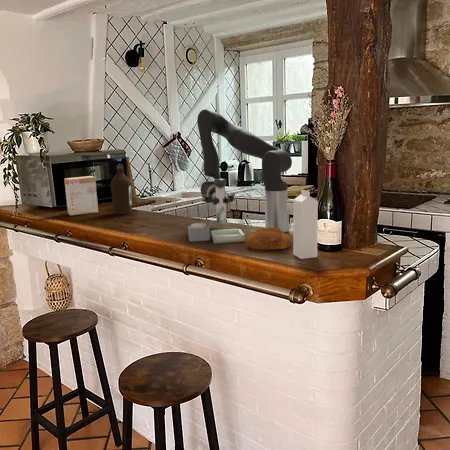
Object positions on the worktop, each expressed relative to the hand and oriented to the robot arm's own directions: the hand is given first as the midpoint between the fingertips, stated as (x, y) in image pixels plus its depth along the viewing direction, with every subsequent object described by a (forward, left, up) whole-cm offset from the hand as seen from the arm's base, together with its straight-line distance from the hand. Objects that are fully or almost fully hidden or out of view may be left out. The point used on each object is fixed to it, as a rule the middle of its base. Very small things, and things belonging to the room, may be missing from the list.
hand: (221, 201), depth 177 cm
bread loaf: (-16, +12, -16) cm, 26 cm away
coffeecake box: (+66, -83, -16) cm, 107 cm away
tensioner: (+9, -9, -15) cm, 20 cm away
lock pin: (0, -3, -9) cm, 9 cm away
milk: (-24, +28, -16) cm, 40 cm away
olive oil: (+44, -76, -16) cm, 89 cm away
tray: (-2, -3, -15) cm, 16 cm away
